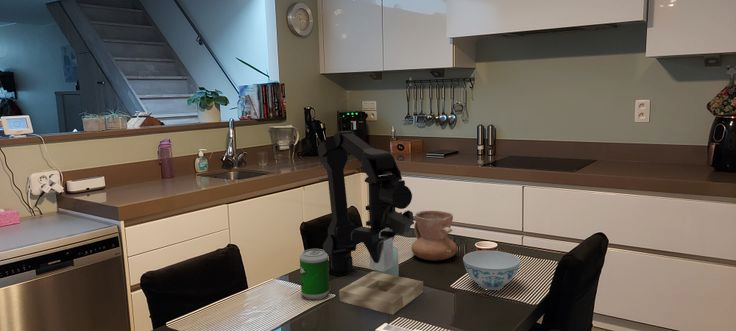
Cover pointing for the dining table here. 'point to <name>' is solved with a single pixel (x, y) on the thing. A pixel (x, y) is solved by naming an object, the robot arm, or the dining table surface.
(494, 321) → the dining table surface
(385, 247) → the square peg
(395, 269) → the round peg
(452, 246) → the ceramic jug
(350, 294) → the socket plate
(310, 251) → the soda can
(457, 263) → the dining table surface
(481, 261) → the chinaware
